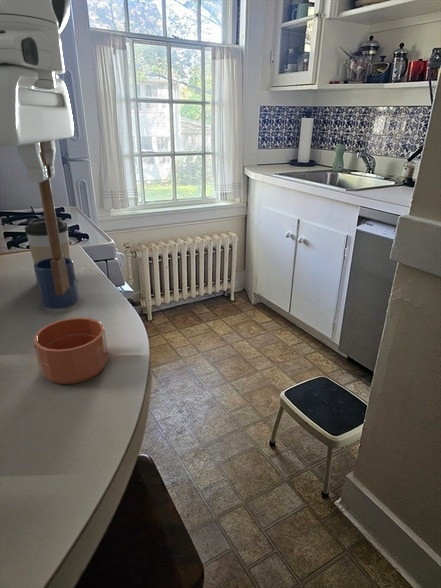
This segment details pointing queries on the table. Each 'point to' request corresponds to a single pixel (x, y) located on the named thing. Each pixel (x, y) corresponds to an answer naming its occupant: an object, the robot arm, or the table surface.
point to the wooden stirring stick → (53, 232)
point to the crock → (48, 288)
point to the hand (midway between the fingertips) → (43, 180)
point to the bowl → (71, 350)
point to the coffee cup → (46, 239)
